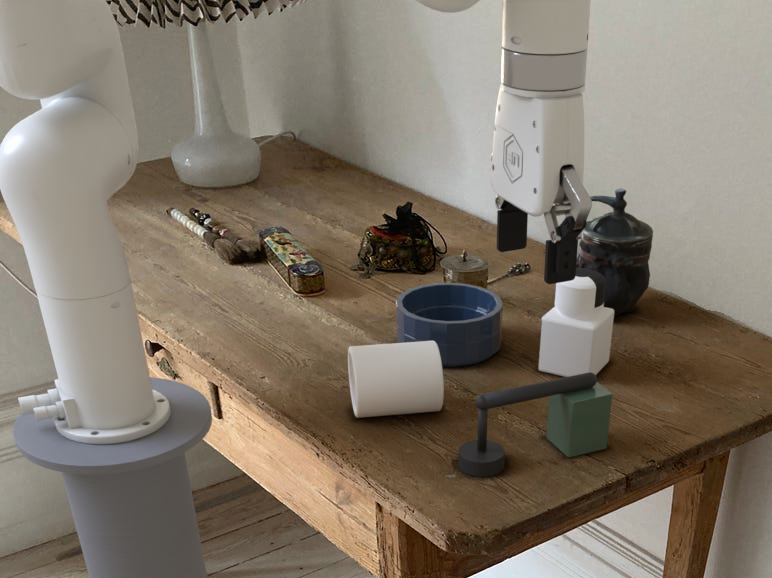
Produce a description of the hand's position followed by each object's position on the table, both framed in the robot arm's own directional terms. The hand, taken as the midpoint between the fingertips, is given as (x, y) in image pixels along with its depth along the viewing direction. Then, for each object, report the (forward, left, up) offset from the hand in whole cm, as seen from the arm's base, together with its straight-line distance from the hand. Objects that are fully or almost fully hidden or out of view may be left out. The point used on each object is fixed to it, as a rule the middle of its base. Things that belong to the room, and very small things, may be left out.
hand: (534, 264), depth 102 cm
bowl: (+4, +28, -21) cm, 35 cm away
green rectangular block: (+6, -1, -21) cm, 22 cm away
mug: (-9, +16, -21) cm, 28 cm away
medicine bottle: (+16, +16, -21) cm, 31 cm away
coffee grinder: (+28, +30, -21) cm, 46 cm away
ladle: (0, -1, -21) cm, 21 cm away
